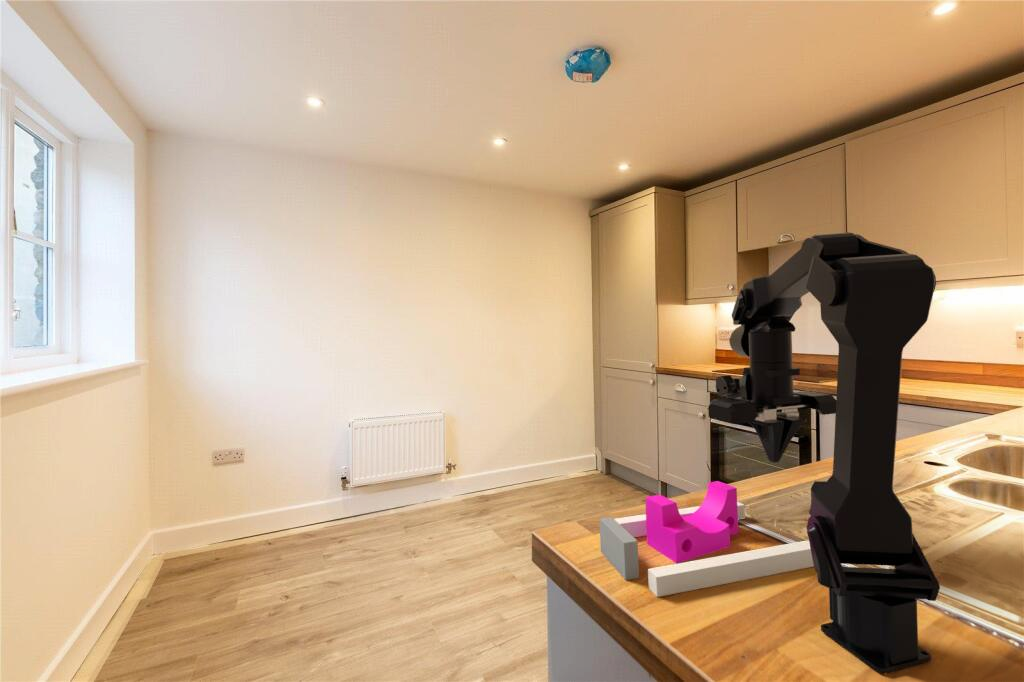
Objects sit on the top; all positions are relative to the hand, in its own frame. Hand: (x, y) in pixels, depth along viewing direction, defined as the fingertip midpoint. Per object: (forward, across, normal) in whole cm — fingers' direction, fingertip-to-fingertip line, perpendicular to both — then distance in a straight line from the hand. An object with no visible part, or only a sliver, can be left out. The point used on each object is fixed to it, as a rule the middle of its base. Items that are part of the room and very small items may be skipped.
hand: (773, 461), depth 68 cm
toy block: (+12, +12, -2) cm, 17 cm away
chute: (+12, +14, 0) cm, 18 cm away
